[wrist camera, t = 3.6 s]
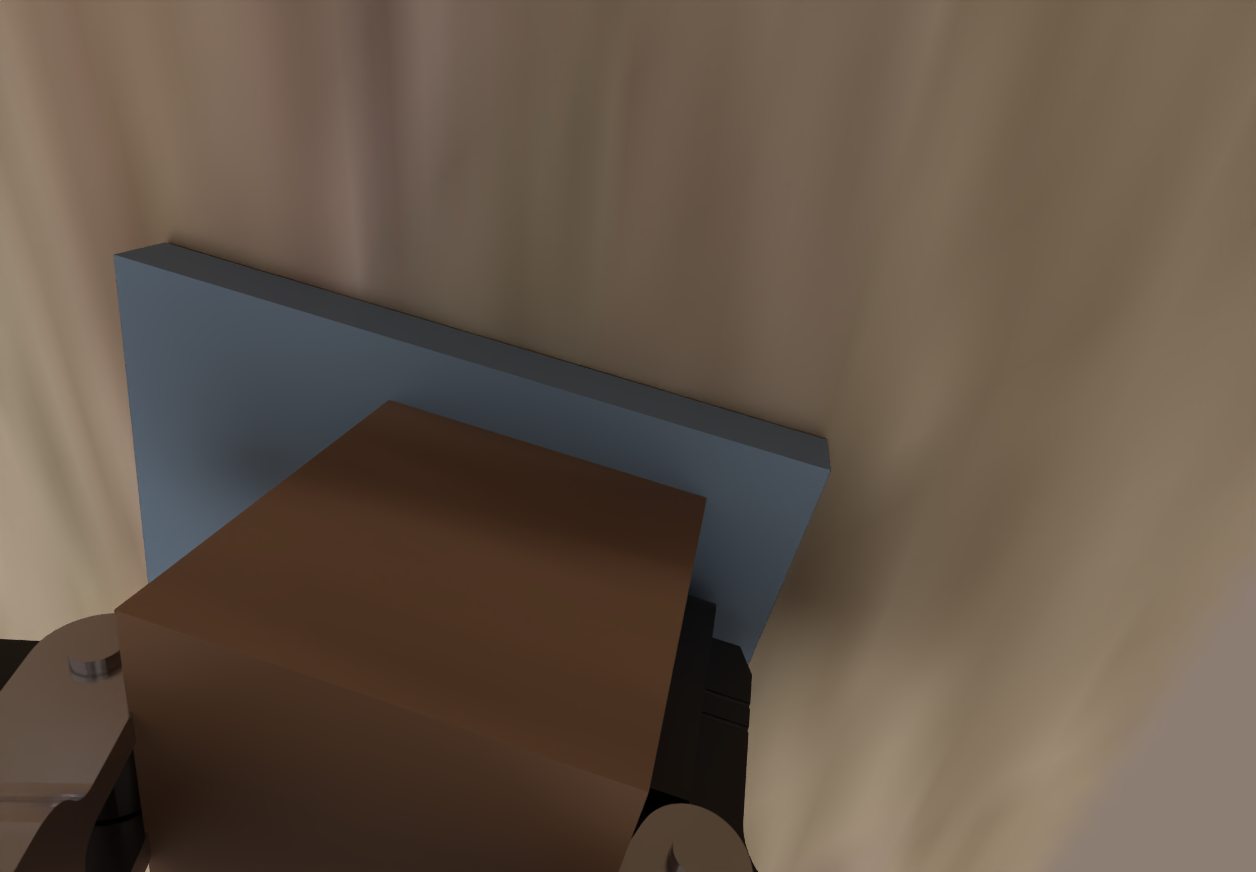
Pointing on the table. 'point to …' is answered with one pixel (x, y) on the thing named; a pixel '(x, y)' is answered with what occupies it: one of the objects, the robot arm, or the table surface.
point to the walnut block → (412, 661)
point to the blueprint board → (430, 381)
